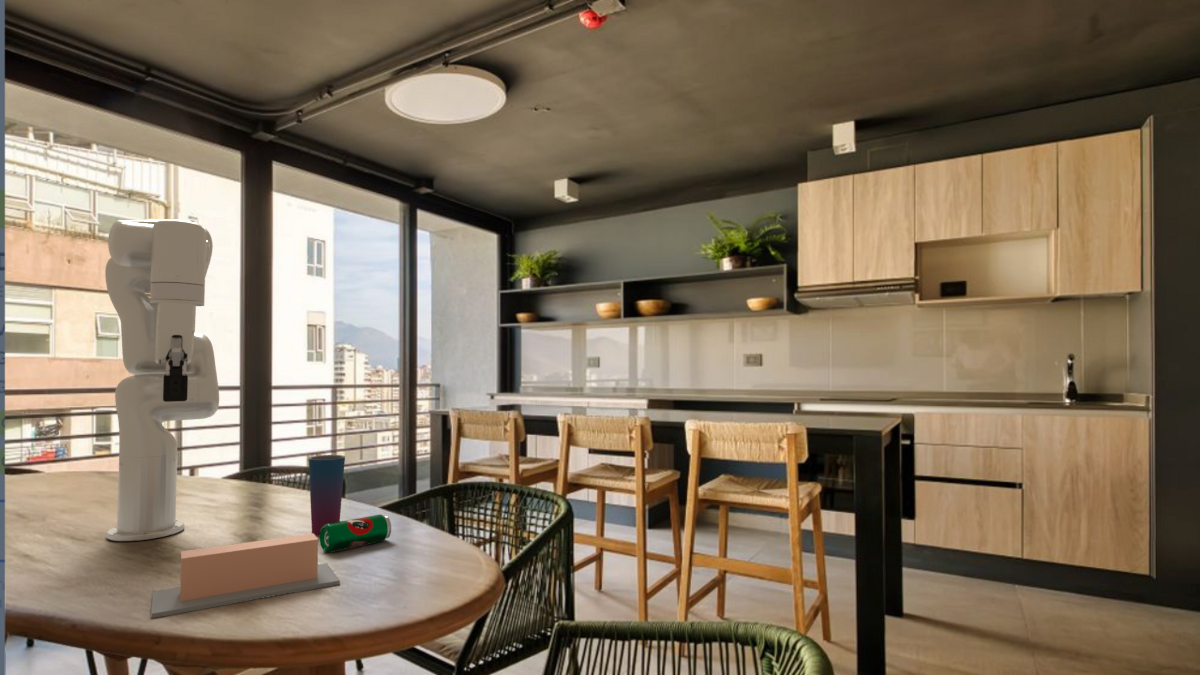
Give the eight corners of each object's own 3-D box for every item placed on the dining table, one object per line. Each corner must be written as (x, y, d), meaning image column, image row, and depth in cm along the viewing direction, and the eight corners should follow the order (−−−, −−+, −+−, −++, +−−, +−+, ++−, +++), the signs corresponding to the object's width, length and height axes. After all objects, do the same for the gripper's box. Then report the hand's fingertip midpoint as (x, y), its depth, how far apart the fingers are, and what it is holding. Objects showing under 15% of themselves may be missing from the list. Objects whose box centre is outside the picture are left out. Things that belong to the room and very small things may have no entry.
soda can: (331, 553, 113) (393, 540, 122) (329, 524, 114) (391, 513, 123) (318, 553, 116) (380, 540, 125) (317, 524, 117) (378, 513, 126)
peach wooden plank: (179, 592, 94) (181, 551, 94) (312, 570, 104) (313, 533, 104) (180, 601, 90) (181, 558, 91) (317, 577, 100) (318, 539, 101)
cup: (333, 525, 134) (334, 453, 134) (350, 531, 129) (351, 457, 130) (300, 532, 128) (302, 457, 129) (317, 538, 124) (319, 461, 125)
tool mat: (153, 595, 94) (153, 591, 94) (326, 566, 108) (327, 563, 108) (151, 618, 86) (151, 613, 86) (339, 584, 99) (339, 580, 99)
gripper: (151, 298, 111) (148, 397, 111) (148, 290, 97) (145, 403, 96) (202, 300, 115) (199, 395, 115) (206, 293, 101) (203, 402, 100)
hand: (175, 399), depth 106 cm, fingers open, 9 cm apart
